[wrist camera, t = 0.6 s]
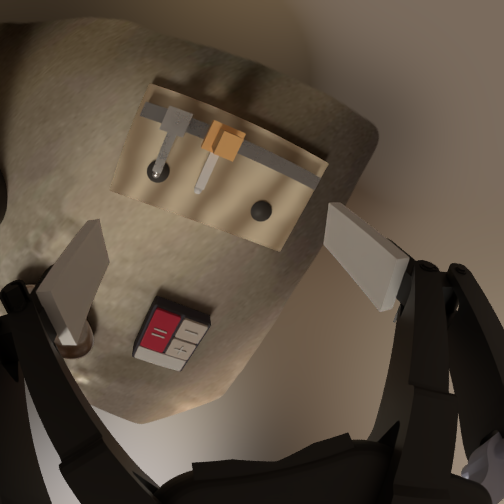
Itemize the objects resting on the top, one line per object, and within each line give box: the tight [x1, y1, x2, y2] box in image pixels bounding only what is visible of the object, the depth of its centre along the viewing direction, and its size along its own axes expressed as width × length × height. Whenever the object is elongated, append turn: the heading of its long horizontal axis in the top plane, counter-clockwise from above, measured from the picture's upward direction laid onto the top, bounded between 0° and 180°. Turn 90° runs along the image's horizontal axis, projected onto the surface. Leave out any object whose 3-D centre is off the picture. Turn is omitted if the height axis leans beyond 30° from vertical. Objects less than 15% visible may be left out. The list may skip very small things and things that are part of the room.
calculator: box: [132, 296, 211, 371], centre depth 49 cm, size 11×4×15 cm
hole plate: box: [110, 83, 328, 252], centre depth 37 cm, size 28×16×2 cm, turn 64°
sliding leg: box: [194, 120, 246, 194], centre depth 30 cm, size 4×10×11 cm, turn 154°
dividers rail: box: [140, 102, 321, 190], centre depth 34 cm, size 26×10×5 cm, turn 64°
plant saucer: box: [26, 284, 94, 359], centre depth 43 cm, size 21×21×3 cm
